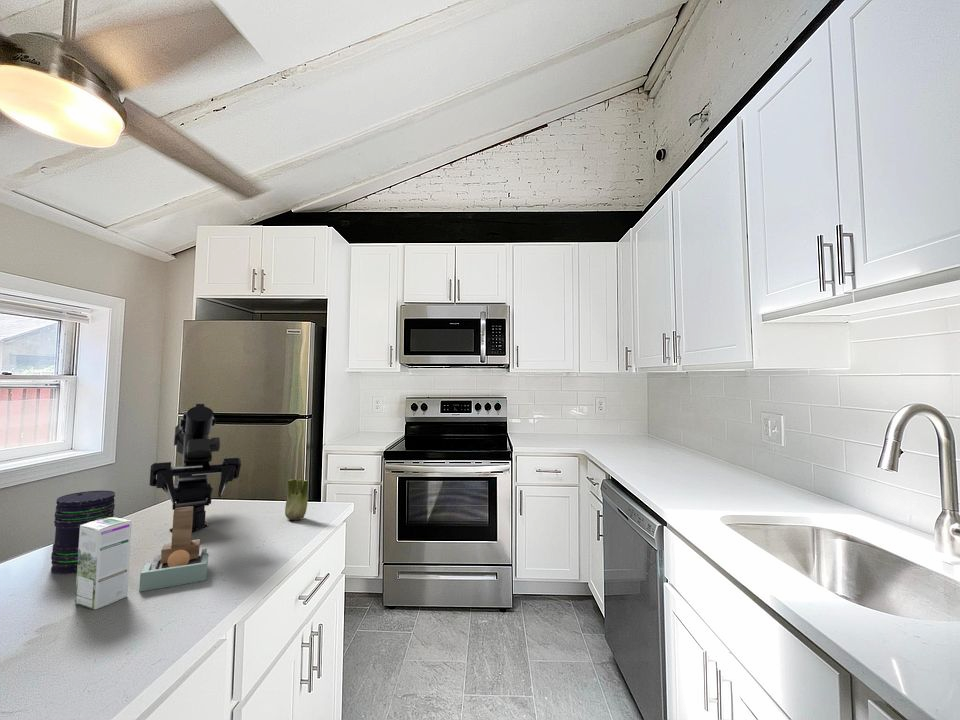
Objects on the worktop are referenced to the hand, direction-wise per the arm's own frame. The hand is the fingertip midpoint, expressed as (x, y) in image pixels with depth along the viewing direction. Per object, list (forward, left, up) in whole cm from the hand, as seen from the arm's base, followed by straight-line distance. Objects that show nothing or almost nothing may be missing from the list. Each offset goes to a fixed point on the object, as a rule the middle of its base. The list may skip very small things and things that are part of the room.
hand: (197, 498), depth 103 cm
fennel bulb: (+8, +30, -13) cm, 33 cm away
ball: (+2, -7, -13) cm, 15 cm away
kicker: (-1, -3, -13) cm, 14 cm away
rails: (0, -4, -13) cm, 14 cm away
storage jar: (-19, -9, -13) cm, 25 cm away
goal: (+5, -11, -13) cm, 18 cm away
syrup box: (0, -21, -13) cm, 25 cm away
